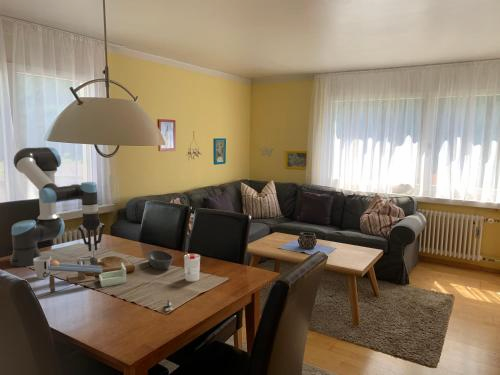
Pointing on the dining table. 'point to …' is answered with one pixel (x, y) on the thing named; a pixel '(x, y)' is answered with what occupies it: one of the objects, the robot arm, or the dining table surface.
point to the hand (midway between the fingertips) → (93, 256)
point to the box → (113, 277)
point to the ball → (55, 263)
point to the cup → (42, 266)
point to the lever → (78, 266)
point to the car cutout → (168, 305)
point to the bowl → (159, 259)
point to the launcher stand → (72, 279)
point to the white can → (192, 267)
